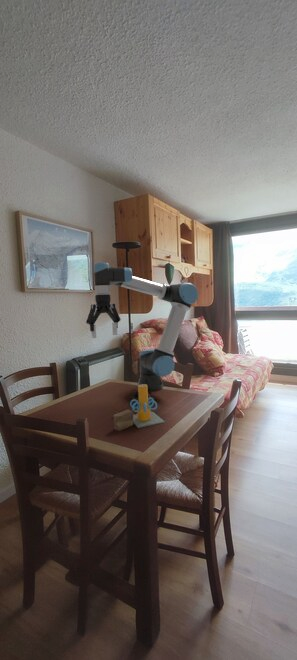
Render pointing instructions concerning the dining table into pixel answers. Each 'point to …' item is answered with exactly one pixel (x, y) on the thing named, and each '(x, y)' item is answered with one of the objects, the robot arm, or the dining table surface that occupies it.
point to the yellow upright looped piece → (143, 404)
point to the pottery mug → (136, 394)
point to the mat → (152, 421)
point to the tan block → (123, 420)
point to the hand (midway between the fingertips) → (104, 336)
